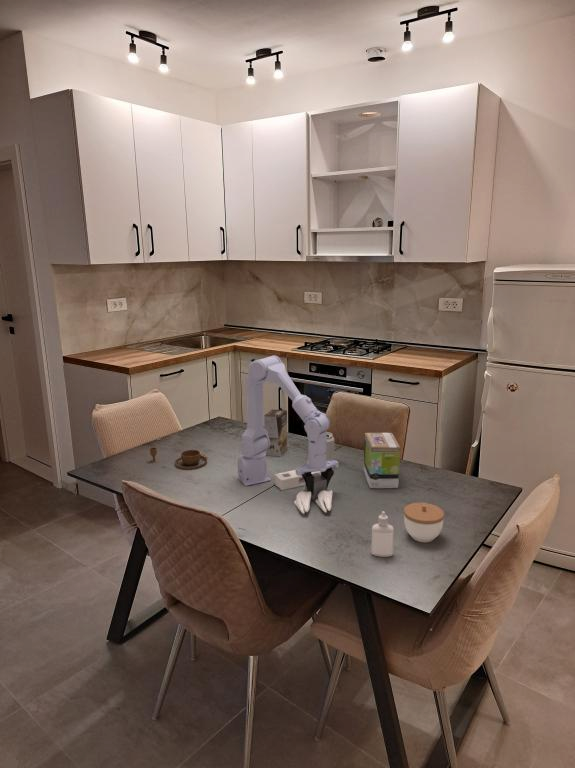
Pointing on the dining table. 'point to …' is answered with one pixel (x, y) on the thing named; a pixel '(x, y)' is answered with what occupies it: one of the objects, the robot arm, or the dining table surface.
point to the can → (329, 447)
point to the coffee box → (276, 431)
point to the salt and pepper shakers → (323, 497)
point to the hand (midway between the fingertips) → (317, 491)
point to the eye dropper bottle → (382, 537)
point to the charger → (317, 485)
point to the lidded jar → (423, 521)
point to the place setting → (185, 458)
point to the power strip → (289, 479)
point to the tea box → (381, 460)
